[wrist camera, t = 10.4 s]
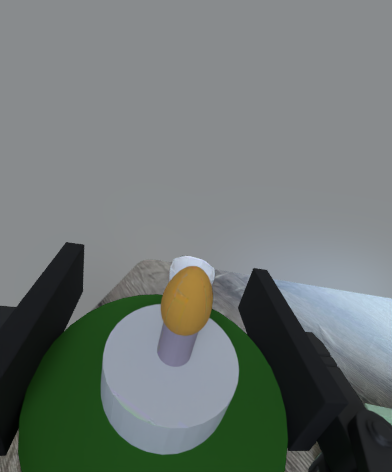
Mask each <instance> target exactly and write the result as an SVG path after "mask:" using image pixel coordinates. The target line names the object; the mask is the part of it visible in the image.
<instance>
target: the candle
mask: <svg viewBox="0 0 392 472" xmlns="http://www.w3.org/2000/svg"><path fill="white" fill-rule="evenodd" d="M212 303H213V292H212V285H211V282H210V279H209V277H208V275H207V274H206V273H205V271H204V270H203V269H201V268H200V267H197V266H188V267H186V268H184V269H182V270H180V271H179V272H178V273H177V274H176V275H175V276H174V277H173V278H172V279H171V280H170V282H169V283H168V285H167V287H166V289H165V290H164V293H163V295H158V294H154V295H138V296H133V297H127V298H122V299H119V300H116V301H113V302H110V303H107V304H105V305H103V306H101V307H99V308H97V309H95V310H93V311H91V312H89V313H87V314H86V315H84V316H83V317H82V318H80V319H79V320H77V321H76V322H75V323H73V324H72V325H70V326H69V327H68V329H66V330H65V331H64V332H63V333H62V334H61V335H60V336H59V337H58V338H57V339H56V340H55V341H54V342H53V344H52V345H51V347H50V348H49V349H48V351H47V352H46V354H45V355H44V356H43V358H42V360H41V362H40V364H39V366H38V368H37V370H36V372H35V374H34V376H33V378H32V380H31V382H30V384H29V386H28V388H27V390H26V394H25V398H24V402H23V406H22V410H21V414H20V418H19V443H18V455H19V461H20V466H21V471H22V472H284V471H285V464H286V455H287V445H288V433H287V420H286V411H285V407H284V403H283V399H282V395H281V391H280V388H279V386H278V383H277V381H276V379H275V376H274V374H273V372H272V369H271V367H270V366H269V364H268V362H267V361H266V359H265V357H264V356H263V354H262V353H261V351H260V349H259V348H258V347H257V346H256V345H255V343H254V342H253V341H252V340H251V339H250V337H249V336H248V335H247V334H246V333H245V332H244V331H243V330H241V329H240V328H239V327H238V326H237V325H236V324H235V323H234V322H232V321H231V320H229V319H228V318H227V317H225V316H224V315H222V314H221V313H219V312H217V311H215V310H213V309H212Z"/></svg>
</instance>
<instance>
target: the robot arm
mask: <svg viewBox="0 0 392 472" xmlns="http://www.w3.org/2000/svg"><path fill="white" fill-rule="evenodd" d="M83 266H84V245H83V244H75V243H68V242H66V243H65V245H64V246H63V247H62V249H61V250H60V251H59V252H58V254H57V255H56V256H55V258H54V259H53V260H52V262H51V263H50V264H49V265H48V267H47V268H46V269H45V271H44V272H43V273H42V275H41V276H40V277H39V278H38V280H37V281H36V282H35V284H34V285H33V286H32V288H31V289H30V290H29V292H28V293H27V294H26V295H25V297H24V298H23V299H22V301H21V302H20V303H19V305H18V306H17V307H7V306H0V456H6V454H7V452H8V450H9V448H10V445H11V443H12V441H13V439H14V437H15V435H16V433H17V431H18V428H19V418H20V414H21V410H22V406H23V402H24V398H25V394H26V390H27V388H28V386H29V384H30V382H31V380H32V378H33V376H34V374H35V372H36V370H37V368H38V366H39V364H40V362H41V360H42V358H43V356H44V355H45V354H46V352H47V351H48V349H49V348H50V347H51V345H52V344H53V342H54V341H55V340H56V339H57V338H58V337H59V336H60V335H61V334H62V333H63V332H64V330H65V328H66V326H67V324H68V322H69V320H70V318H71V316H72V313H73V311H74V309H75V307H76V305H77V303H78V300H79V299H80V296H81V294H82V292H83V268H84V267H83ZM238 309H239V312H240V315H241V318H242V320H243V323H244V326H245V329H246V332H247V335H248V336H249V337H250V339H251V340H252V341H253V342H254V343H255V345H256V346H257V347H258V348H259V349H260V351H261V353H262V354H263V356H264V357H265V359H266V361H267V362H268V364H269V366H270V367H271V369H272V372H273V374H274V376H275V379H276V381H277V383H278V386H279V388H280V391H281V395H282V399H283V403H284V407H285V411H286V420H287V433H288V445H287V448H288V451H309V450H310V449H311V448H312V446H313V445H314V444H315V443H316V442H318V444H319V447H320V449H321V451H322V453H321V454H320V455H319V456H318V457H317V458H316V460H315V461H314V462H313V463H312V464H311V466H310V467H309V471H308V472H317V471H318V470H319V472H392V425H391V424H390V423H389V422H388V421H386V420H385V419H384V418H383V417H382V416H380V415H378V414H377V413H375V412H373V411H370V410H367V409H366V407H365V406H364V404H363V403H362V401H361V400H360V398H359V397H358V395H357V394H356V392H355V391H354V389H353V388H352V386H351V385H350V383H349V382H348V380H347V379H346V377H345V376H344V374H343V373H342V371H341V370H340V368H339V367H337V364H336V362H335V361H334V359H333V358H332V357H331V356H330V353H329V352H328V350H327V349H326V347H325V346H324V344H323V343H322V342H321V341H320V340H319V339H318V338H317V337H316V336H315V335H314V334H313V333H312V332H305V331H304V329H303V328H302V326H301V324H300V323H299V321H298V320H297V318H296V316H295V315H294V313H293V312H292V310H291V308H290V307H289V305H288V303H287V302H286V300H285V299H284V297H283V295H282V294H281V292H280V290H279V289H278V287H277V286H276V284H275V282H274V281H273V279H272V277H271V276H270V274H269V273H268V271H267V270H262V269H256V268H254V269H253V271H252V273H251V276H250V278H249V281H248V284H247V286H246V289H245V291H244V294H243V296H242V299H241V301H240V304H239V306H238Z"/></svg>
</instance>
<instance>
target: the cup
mask: <svg viewBox="0 0 392 472" xmlns="http://www.w3.org/2000/svg"><path fill="white" fill-rule="evenodd" d="M188 266H197V267H200V268H201V269H203V270H204V271H205V273H206V274H207V275H208V277H209V279H210V282H211V285H212V283H213V281H214V278H215V269H214V268H213V267H212V266H211V265H209V264H208V263H207V262H206V261H205V260H203V259H198V258H195V257H191V256H180V257H179V258H174V259H173V262H172V264H171V267H170V280H171V279H172V278H173V277H174V276H175V275H176V274H177V273H178V272H179V271H180V270H182V269H184V268H186V267H188Z"/></svg>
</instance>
